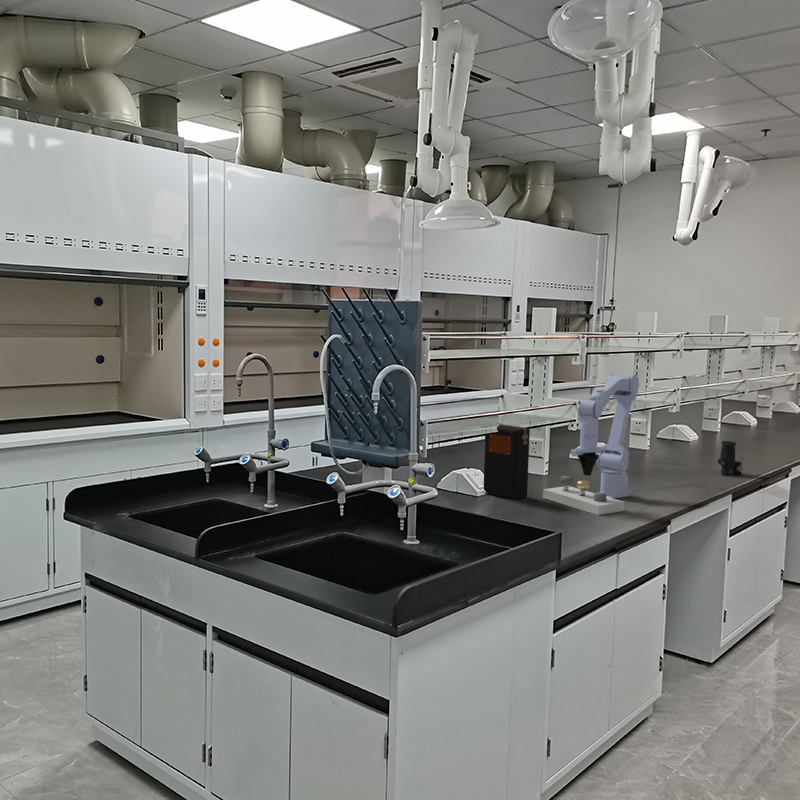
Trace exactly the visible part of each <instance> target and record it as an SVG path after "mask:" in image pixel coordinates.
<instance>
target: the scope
mask: <svg viewBox="0 0 800 800" xmlns="http://www.w3.org/2000/svg"><path fill="white" fill-rule="evenodd" d="M736 444H737V442H735V441H726V440H723V441H721V445H722V446H721V450H720V456H719V457H720V458H718V460H717V463H718V464H719V465H720V466H721V473H720V475H721V476H724V477H732V476H734V475H737V476H739V475H742V474H743V473H742V472H744V470H745V468H744V467H743V466H744V456H741V457H740V460H739V461H736V446H737V445H736Z"/></svg>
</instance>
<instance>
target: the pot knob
mask: <svg viewBox="0 0 800 800" xmlns="http://www.w3.org/2000/svg"><path fill="white" fill-rule="evenodd" d="M576 488H578V489H581V490H580V496H585V491H586V490H588V489H589V490H590V481H588V480H577V482H576Z"/></svg>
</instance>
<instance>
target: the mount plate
mask: <svg viewBox="0 0 800 800" xmlns="http://www.w3.org/2000/svg"><path fill="white" fill-rule="evenodd" d="M580 490H581V489H580V488H577V487H573V486H570V485H569V488H568V491H564V486H557V487H552V488H551V487H550V488H543V492H542V493H543V494H542V498H543V499H547V500H550V501H553V502H555V503H559V504H562V505H565V506H569V507H572V508H575V509H577V510H578V509H579V510H581V511H584V512H588V513H590V514H594V515H597V516H602V515H606V514H612V513H619V512H624V511H625V501H622V500H619V499H617V498H614V499H613V498H609V497H607V500H606V502H598V501H595V500H594V494H595V493H596V492H591V491H588V490H585V496H580Z"/></svg>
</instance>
